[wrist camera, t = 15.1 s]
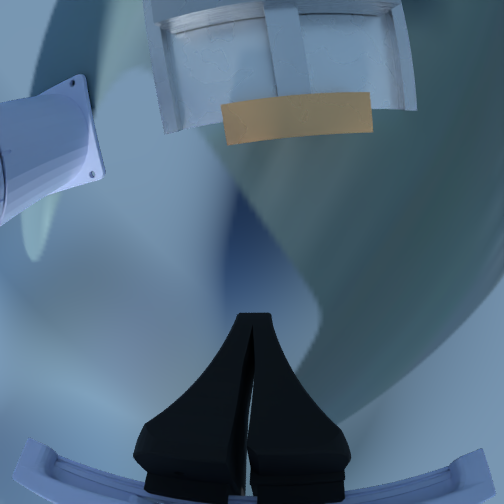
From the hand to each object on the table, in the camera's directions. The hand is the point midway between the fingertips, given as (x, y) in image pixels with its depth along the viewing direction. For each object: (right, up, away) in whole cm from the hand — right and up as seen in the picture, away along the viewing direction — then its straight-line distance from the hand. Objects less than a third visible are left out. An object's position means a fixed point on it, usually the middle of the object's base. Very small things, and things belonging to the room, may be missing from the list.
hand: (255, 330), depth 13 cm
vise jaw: (+2, +14, +1) cm, 14 cm away
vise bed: (+1, +20, 0) cm, 20 cm away
